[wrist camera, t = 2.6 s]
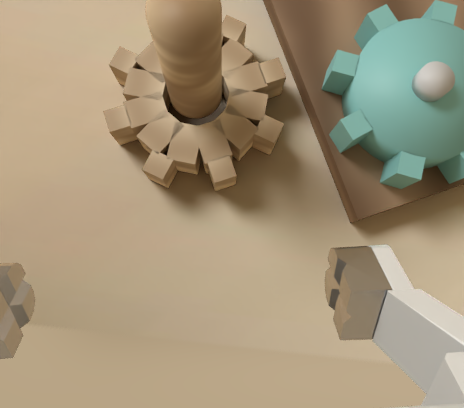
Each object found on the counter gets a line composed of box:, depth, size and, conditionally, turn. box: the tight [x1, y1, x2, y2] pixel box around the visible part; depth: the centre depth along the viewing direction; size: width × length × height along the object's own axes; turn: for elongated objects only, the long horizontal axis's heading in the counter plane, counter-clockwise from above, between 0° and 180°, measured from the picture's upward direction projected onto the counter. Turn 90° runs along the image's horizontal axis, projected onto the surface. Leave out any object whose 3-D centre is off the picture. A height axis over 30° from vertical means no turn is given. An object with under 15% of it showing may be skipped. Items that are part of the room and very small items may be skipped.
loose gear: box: [103, 0, 286, 191], centre depth 22 cm, size 11×11×10 cm
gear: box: [322, 0, 464, 189], centre depth 24 cm, size 11×11×4 cm
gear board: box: [263, 0, 464, 223], centre depth 27 cm, size 14×24×4 cm, turn 19°
